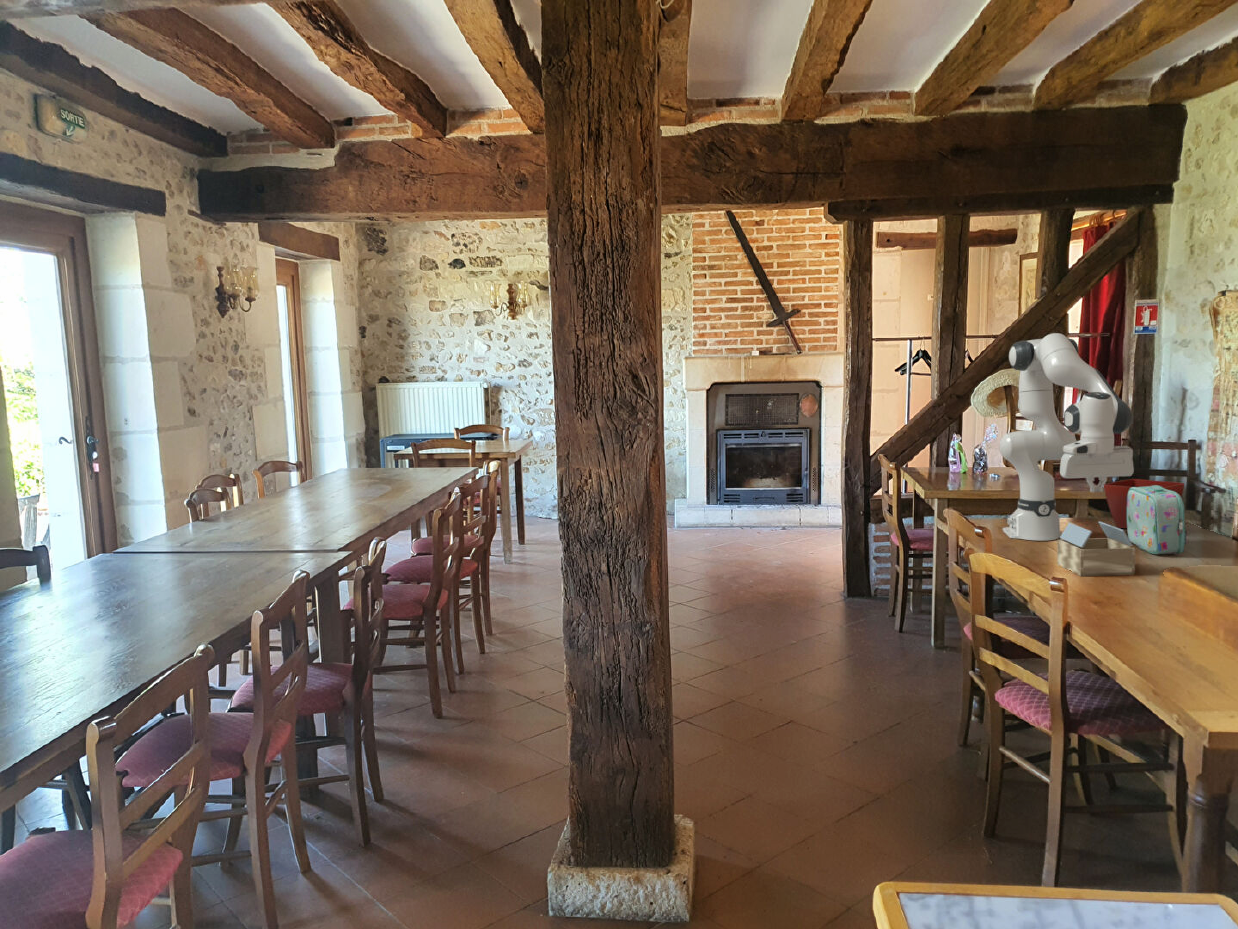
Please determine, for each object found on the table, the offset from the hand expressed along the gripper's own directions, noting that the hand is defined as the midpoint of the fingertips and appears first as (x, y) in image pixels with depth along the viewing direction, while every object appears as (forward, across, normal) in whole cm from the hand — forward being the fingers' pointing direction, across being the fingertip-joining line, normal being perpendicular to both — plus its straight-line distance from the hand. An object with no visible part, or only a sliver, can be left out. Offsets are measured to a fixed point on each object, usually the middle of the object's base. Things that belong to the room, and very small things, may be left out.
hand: (1096, 491), depth 251 cm
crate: (+24, 0, 0) cm, 24 cm away
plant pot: (+24, -45, -57) cm, 76 cm away
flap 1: (+16, +7, 0) cm, 18 cm away
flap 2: (+16, -7, 0) cm, 18 cm away
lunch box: (+24, -31, -24) cm, 46 cm away
